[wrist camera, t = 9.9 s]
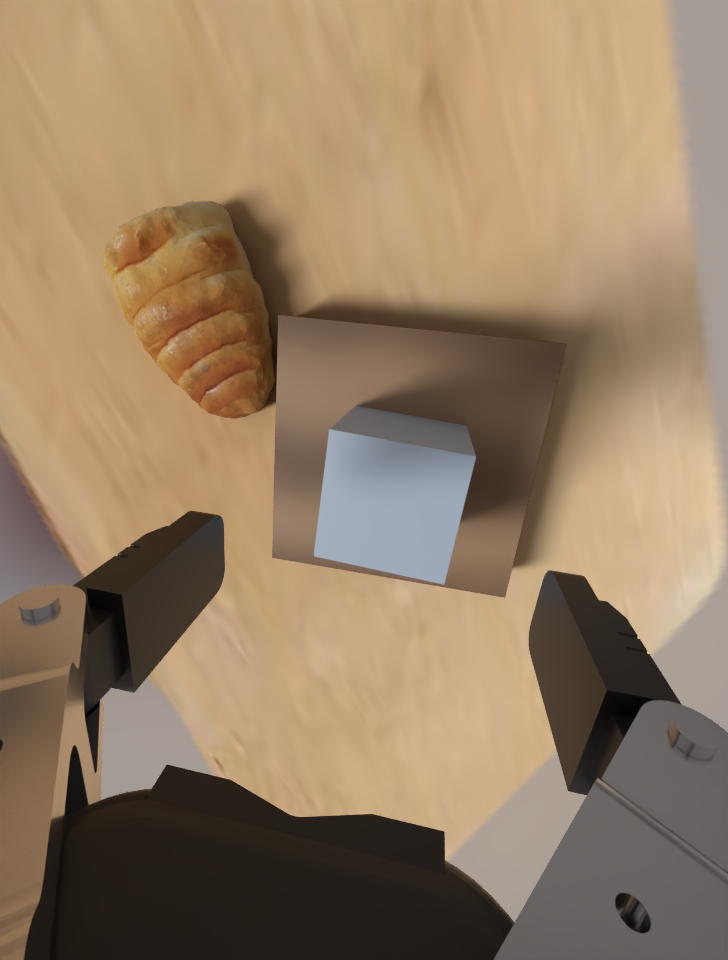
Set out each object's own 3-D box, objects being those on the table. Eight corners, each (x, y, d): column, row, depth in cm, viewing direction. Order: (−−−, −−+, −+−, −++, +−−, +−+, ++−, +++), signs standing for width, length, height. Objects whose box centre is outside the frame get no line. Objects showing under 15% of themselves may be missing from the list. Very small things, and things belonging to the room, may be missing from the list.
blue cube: (355, 405, 19) (329, 429, 15) (466, 425, 19) (476, 456, 14) (341, 506, 21) (313, 556, 16) (442, 527, 21) (443, 584, 16)
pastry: (314, 386, 22) (290, 396, 19) (209, 433, 24) (168, 451, 20) (228, 195, 20) (182, 166, 16) (119, 263, 22) (56, 250, 18)
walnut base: (299, 316, 21) (278, 314, 19) (548, 341, 20) (566, 343, 17) (290, 532, 26) (272, 557, 23) (497, 566, 24) (504, 597, 21)
